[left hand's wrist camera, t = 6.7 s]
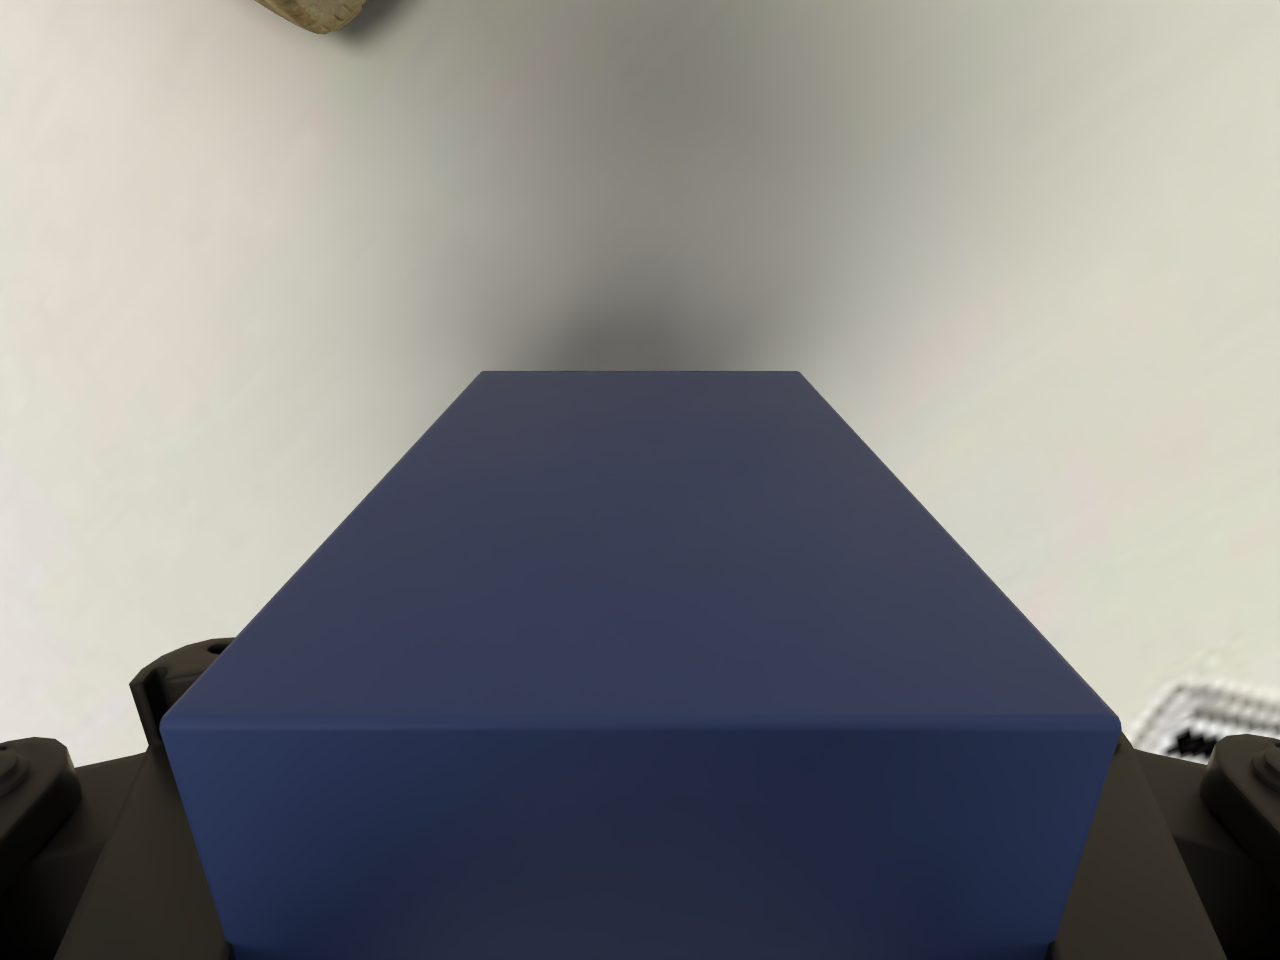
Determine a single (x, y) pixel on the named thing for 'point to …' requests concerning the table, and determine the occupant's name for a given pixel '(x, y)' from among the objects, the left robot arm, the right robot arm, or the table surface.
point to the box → (640, 703)
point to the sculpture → (316, 13)
